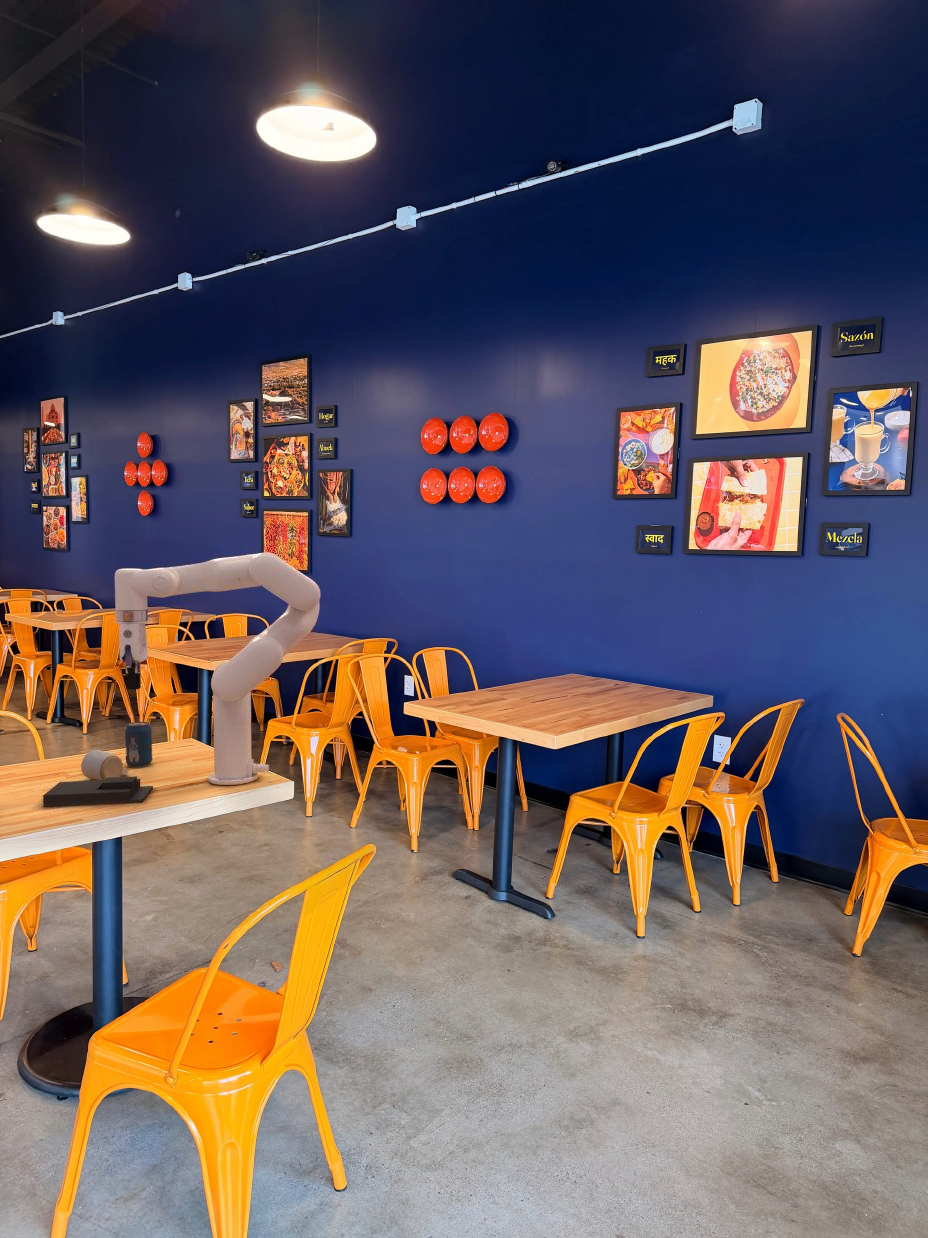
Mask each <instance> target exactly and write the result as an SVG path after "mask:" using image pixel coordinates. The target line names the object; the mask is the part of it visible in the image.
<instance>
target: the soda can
mask: <svg viewBox="0 0 928 1238" xmlns="http://www.w3.org/2000/svg"><path fill="white" fill-rule="evenodd" d="M152 732H153V731H152V727H151V725H150V722H149V721H134V722H128V723H127V724H126V728H125V730H124V738H125V741H124V743H125V745H124V746H125V763H126V765H127V767H128V768H131V769H139V768H141V769H142V768H145V767H149V766H150V765H151V763H152V762H153V737H152V736H153V735H152Z"/></svg>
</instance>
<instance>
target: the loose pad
mask: <svg viewBox="0 0 928 1238" xmlns="http://www.w3.org/2000/svg"><path fill="white" fill-rule="evenodd" d="M137 779H138V776H137V775H135V776H134V775H133V776H119V777H109V778H106V779H105V780H104V781H103V782H102V790H104V789H128V788H132V796H133V795H134V793H135V792H136V791H137Z"/></svg>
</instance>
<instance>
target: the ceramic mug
mask: <svg viewBox="0 0 928 1238" xmlns="http://www.w3.org/2000/svg"><path fill="white" fill-rule="evenodd" d="M80 769H81V772H82V774H83V776H84V777H85V778H87V779H90V780H105V779H106V778H109V777H121V775H123V776H128V775H129V769H127V768H124V763H123V760H122V758H120V757H119V756H118V755H117V754H114V753H111V752H107V751H104V750H101V749H92V750H90V751H88V752H87V753H85V755H84V757H83V758H82V761H81V765H80Z"/></svg>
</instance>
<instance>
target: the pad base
mask: <svg viewBox="0 0 928 1238" xmlns="http://www.w3.org/2000/svg"><path fill="white" fill-rule="evenodd" d="M103 781H104V780H94V779H92V780H73V781H72V780H71V781H59V782H58V783H56V784H55V785H54V786H53V787H51V788H50V789H49V790H48V791H46V792H45V793H44V794H43V795H42V802H43V804H42V807H43V808H49V807H50V808H51V807H52V808H53V807H73V806H75V807H76V806H92V805H93V806H94V805H95V806H97V805H115V804H116V805H117V804H118V805H119V804H138V803H143V802H144V801H145V800H146V798H147V797H148V796H149V795H150V793H151V792H152V791H153V790H154V786H153V785H142V786H141V778H137V791H136V792H135V793H134V795H133V796H132V788H128V789H104V790H102V782H103Z"/></svg>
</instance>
